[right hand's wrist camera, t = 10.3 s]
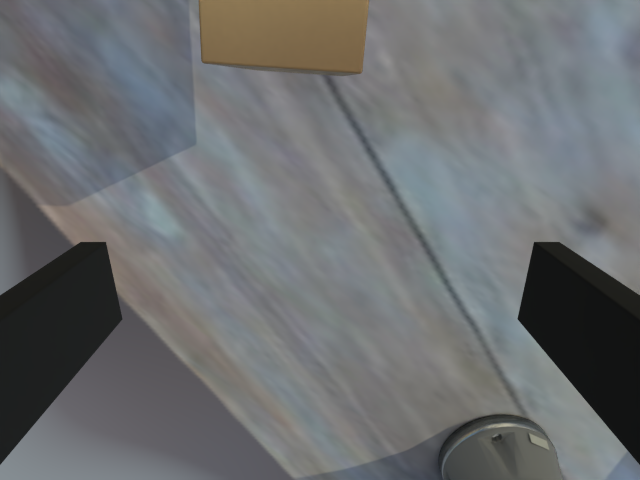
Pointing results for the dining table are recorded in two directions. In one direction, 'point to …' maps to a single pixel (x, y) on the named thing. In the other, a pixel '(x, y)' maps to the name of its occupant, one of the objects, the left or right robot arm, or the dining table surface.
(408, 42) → the dining table surface
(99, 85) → the dining table surface
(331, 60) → the box
